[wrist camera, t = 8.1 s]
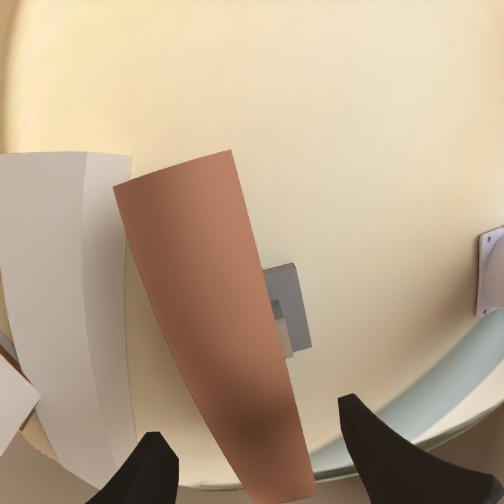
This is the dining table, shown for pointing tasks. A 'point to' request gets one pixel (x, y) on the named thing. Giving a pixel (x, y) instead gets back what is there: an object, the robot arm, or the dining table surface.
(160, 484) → the robot arm
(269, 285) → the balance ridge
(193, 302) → the mahogany rod
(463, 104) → the dining table surface
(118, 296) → the decorative molding
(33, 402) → the white tower model
